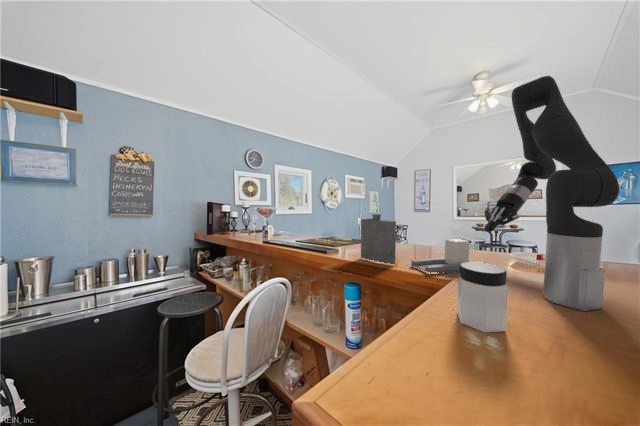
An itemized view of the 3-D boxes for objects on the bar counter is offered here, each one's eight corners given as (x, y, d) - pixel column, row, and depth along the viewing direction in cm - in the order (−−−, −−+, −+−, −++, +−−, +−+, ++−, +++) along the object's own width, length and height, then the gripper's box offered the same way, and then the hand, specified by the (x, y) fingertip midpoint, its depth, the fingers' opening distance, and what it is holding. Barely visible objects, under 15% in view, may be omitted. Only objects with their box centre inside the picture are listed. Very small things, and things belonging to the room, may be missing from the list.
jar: (483, 311, 54) (485, 261, 53) (516, 331, 46) (519, 272, 45) (447, 313, 53) (449, 262, 52) (474, 334, 45) (477, 274, 44)
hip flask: (396, 265, 90) (397, 214, 89) (391, 267, 88) (392, 215, 86) (363, 257, 102) (364, 212, 101) (358, 259, 99) (358, 213, 98)
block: (468, 265, 85) (469, 241, 85) (455, 266, 84) (455, 242, 83) (457, 261, 90) (458, 238, 90) (444, 262, 89) (445, 239, 88)
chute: (485, 269, 84) (485, 262, 84) (429, 275, 79) (429, 267, 78) (462, 262, 94) (462, 256, 94) (411, 266, 88) (411, 260, 88)
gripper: (492, 192, 97) (467, 222, 95) (527, 191, 84) (499, 225, 82) (501, 204, 99) (477, 234, 97) (537, 205, 86) (509, 239, 84)
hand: (487, 230), depth 89 cm, fingers closed
